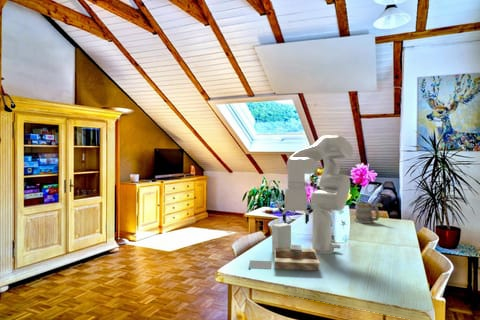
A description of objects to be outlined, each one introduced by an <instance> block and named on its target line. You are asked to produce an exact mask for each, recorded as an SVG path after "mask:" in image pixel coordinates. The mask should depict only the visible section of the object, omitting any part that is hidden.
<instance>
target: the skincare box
mask: <svg viewBox="0 0 480 320" xmlns="http://www.w3.org/2000/svg"><path fill="white" fill-rule="evenodd" d="M271 240H272V243H271V244H272V245H271V247H272V249H271V250H272V252H273V253H274V248H290V245H292V225H291V224H290V223H287V222H286V223H284V222H282V223H274V224H271Z"/></svg>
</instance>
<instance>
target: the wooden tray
mask: <svg viewBox="0 0 480 320" xmlns="http://www.w3.org/2000/svg"><path fill="white" fill-rule="evenodd" d="M301 249H302V259H290V248H274V252H273V254H274V255H273V256H274V257H273V258H274V260H273V263H274V264H273V265H274V267H273V268H274V269H275V270H277V269H279V270H299V271H319V270H320V269H319V265H321V261H320V260H319V257H318V255H317V254H318V253H316V252H315V250H314V249H309V248H301Z"/></svg>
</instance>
